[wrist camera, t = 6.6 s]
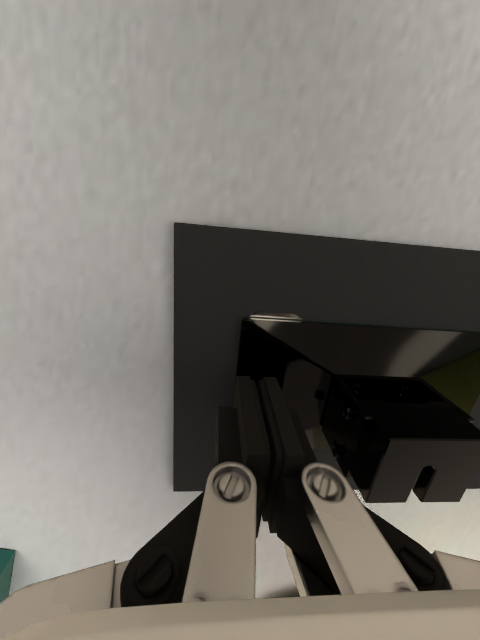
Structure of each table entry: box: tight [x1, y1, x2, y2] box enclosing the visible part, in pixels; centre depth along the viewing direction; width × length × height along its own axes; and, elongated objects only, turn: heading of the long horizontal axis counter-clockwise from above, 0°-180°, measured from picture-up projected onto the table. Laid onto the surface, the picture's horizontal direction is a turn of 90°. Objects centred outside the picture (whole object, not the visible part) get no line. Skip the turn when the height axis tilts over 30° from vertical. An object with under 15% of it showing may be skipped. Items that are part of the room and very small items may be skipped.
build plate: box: [232, 311, 480, 503], centre depth 11 cm, size 12×7×5 cm, turn 85°
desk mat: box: [173, 223, 480, 491], centre depth 13 cm, size 14×24×1 cm, turn 85°
